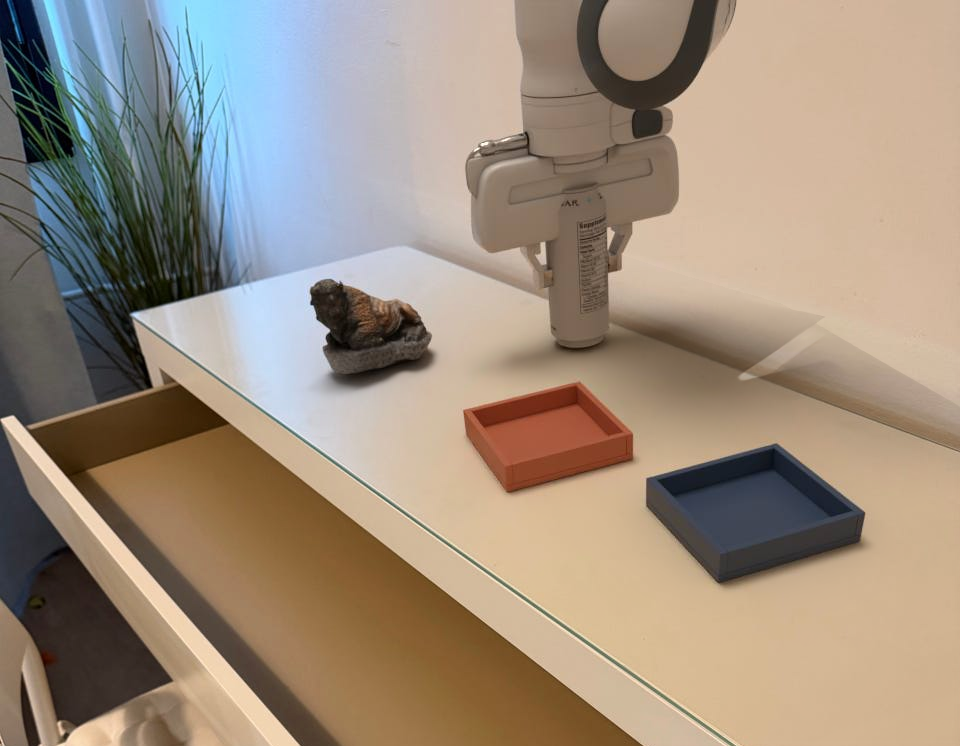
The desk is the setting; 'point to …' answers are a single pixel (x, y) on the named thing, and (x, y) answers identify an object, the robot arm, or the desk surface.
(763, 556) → the slate tray
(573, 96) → the robot arm
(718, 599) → the desk surface
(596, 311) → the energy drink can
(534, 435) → the terracotta tray
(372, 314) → the bison figurine
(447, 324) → the desk surface
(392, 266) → the desk surface
